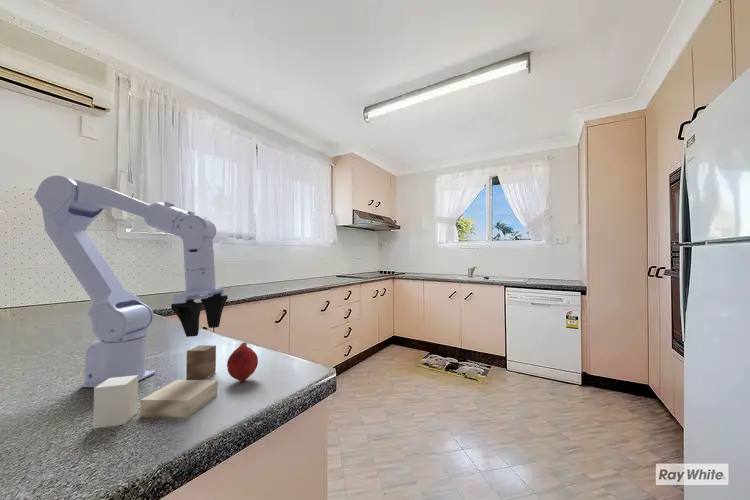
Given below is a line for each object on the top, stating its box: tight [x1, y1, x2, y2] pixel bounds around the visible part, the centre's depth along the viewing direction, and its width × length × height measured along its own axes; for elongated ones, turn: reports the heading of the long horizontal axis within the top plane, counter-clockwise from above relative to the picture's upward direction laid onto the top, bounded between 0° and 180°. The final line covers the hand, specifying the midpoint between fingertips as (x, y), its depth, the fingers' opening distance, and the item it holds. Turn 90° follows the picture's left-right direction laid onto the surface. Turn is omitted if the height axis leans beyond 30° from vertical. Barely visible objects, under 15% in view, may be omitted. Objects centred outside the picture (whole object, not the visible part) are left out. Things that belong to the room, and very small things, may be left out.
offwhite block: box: [92, 375, 139, 429], centre depth 46 cm, size 4×4×6 cm
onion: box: [226, 341, 259, 383], centre depth 61 cm, size 6×6×8 cm
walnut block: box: [185, 344, 217, 380], centre depth 64 cm, size 4×4×6 cm
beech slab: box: [139, 379, 219, 418], centre depth 51 cm, size 8×8×3 cm
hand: (203, 331), depth 64 cm, fingers open, 7 cm apart
